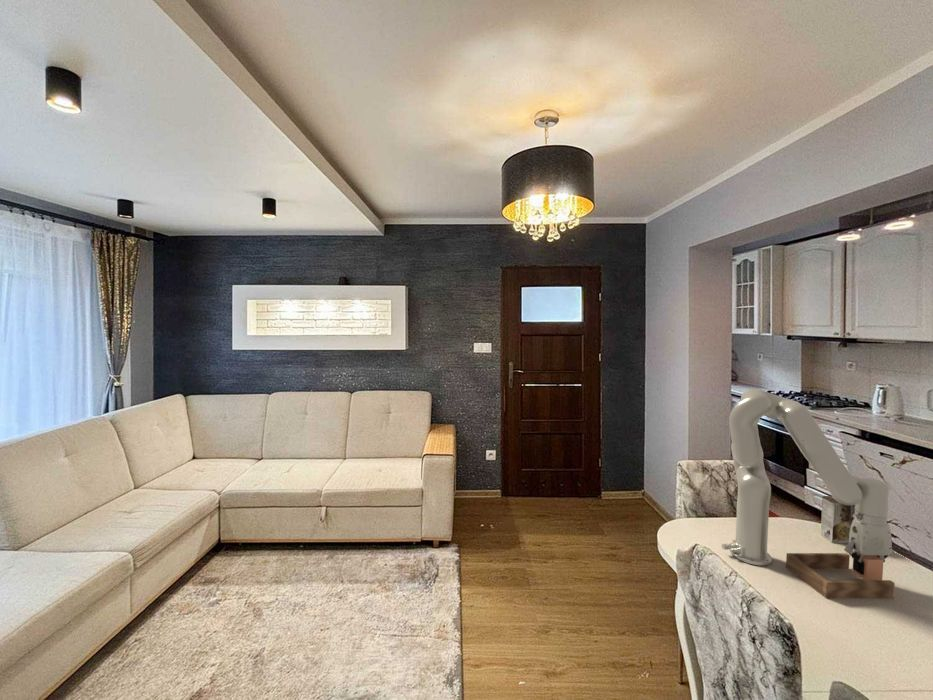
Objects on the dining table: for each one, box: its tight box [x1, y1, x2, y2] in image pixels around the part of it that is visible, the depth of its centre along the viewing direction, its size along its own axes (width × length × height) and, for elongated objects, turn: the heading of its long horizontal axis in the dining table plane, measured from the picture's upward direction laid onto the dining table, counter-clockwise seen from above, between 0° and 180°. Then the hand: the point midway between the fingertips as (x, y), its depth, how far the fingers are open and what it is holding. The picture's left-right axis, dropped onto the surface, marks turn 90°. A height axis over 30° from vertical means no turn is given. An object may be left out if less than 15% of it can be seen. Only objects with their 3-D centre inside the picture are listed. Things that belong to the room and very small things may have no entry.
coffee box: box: [820, 495, 855, 544], centre depth 164 cm, size 9×6×16 cm
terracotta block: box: [852, 553, 884, 580], centre depth 138 cm, size 5×5×7 cm
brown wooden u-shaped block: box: [785, 552, 895, 599], centre depth 138 cm, size 21×16×5 cm
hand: (867, 571), depth 138 cm, fingers closed on terracotta block, 5 cm apart
